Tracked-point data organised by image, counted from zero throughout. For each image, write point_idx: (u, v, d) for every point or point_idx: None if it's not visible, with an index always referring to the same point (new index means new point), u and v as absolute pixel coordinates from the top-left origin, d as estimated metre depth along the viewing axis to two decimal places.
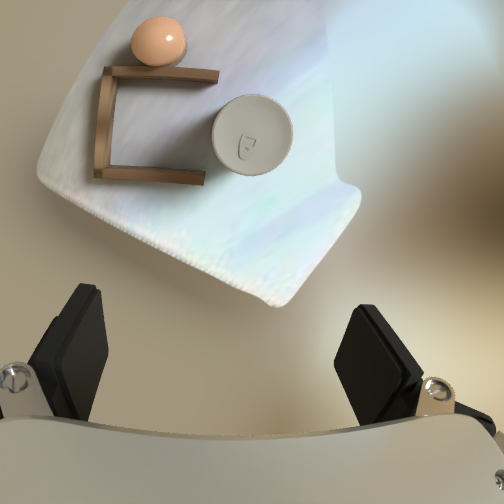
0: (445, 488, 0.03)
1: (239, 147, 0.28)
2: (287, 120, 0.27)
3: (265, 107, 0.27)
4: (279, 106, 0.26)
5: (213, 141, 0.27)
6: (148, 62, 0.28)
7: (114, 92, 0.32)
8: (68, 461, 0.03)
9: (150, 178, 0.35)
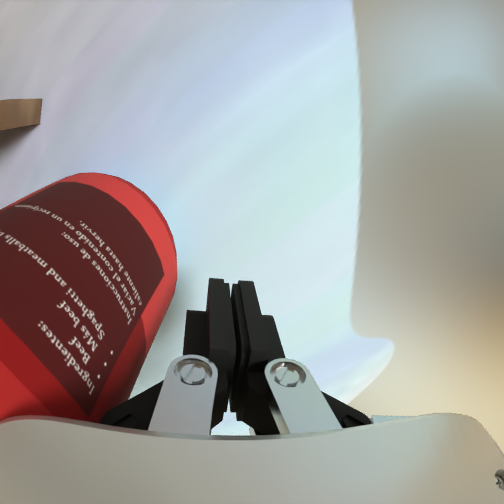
0: (445, 488, 0.03)
1: None
2: None
3: None
4: None
5: None
6: None
7: None
8: (68, 461, 0.03)
9: None
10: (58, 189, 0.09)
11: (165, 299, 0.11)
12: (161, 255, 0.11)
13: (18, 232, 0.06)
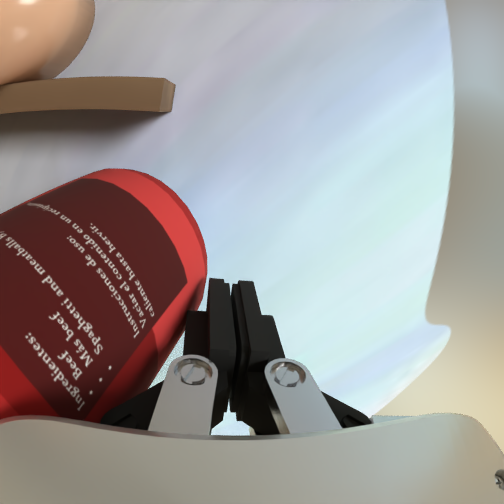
0: (445, 488, 0.03)
1: None
2: None
3: None
4: None
5: None
6: None
7: None
8: (68, 461, 0.03)
9: None
10: (76, 187, 0.08)
11: (187, 308, 0.10)
12: (185, 261, 0.10)
13: (21, 235, 0.06)
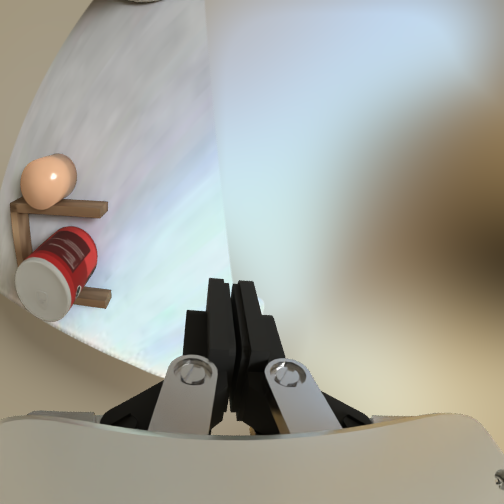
0: (445, 488, 0.03)
1: (37, 301, 0.28)
2: (56, 276, 0.27)
3: (39, 268, 0.27)
4: (46, 266, 0.27)
5: (20, 300, 0.28)
6: (37, 208, 0.30)
7: (26, 220, 0.34)
8: (68, 461, 0.03)
9: None
10: (59, 233, 0.33)
11: (92, 258, 0.36)
12: (89, 245, 0.35)
13: (54, 243, 0.30)
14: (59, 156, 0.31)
